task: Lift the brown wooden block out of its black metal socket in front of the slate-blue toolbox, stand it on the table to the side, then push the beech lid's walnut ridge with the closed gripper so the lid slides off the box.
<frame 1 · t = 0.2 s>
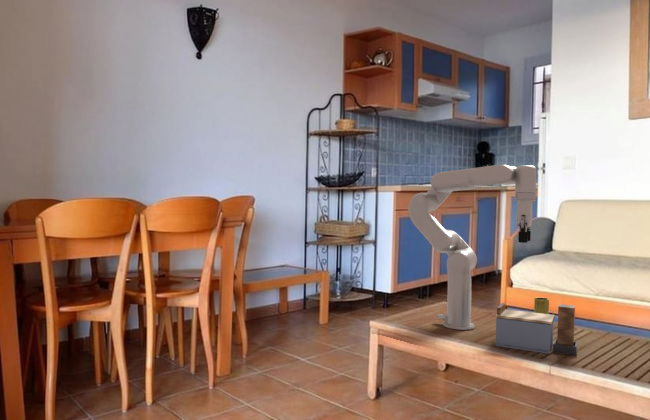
hand: (524, 241, 201), 37 cm above the table, tool pointing down, fingers open, 9 cm apart
toolbox: (524, 345, 188), on the table
lid: (525, 312, 188), point 12 cm above the table, slide at 0.0 cm
vase: (540, 335, 204), on the table
socket: (565, 351, 181), on the table
brown wooden block: (566, 328, 181), in the socket
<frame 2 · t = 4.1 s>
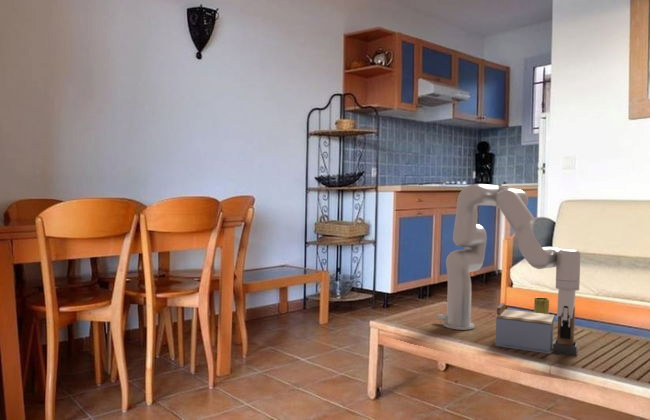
hand: (565, 336, 181), 5 cm above the table, tool pointing down, fingers closed on brown wooden block, 5 cm apart
brown wooden block: (566, 328, 181), in the socket, touching gripper
everything else where it was.
when the fingers open (7 cm above the table, at t = 12.2 s): brown wooden block drops 1 cm, on the table.
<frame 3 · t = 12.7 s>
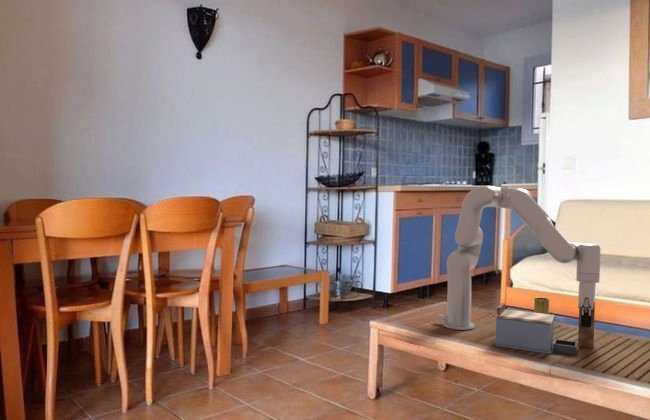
hand: (586, 323, 190), 8 cm above the table, tool pointing down, fingers open, 9 cm apart
brown wooden block: (586, 323, 190), on the table
everything else where it was.
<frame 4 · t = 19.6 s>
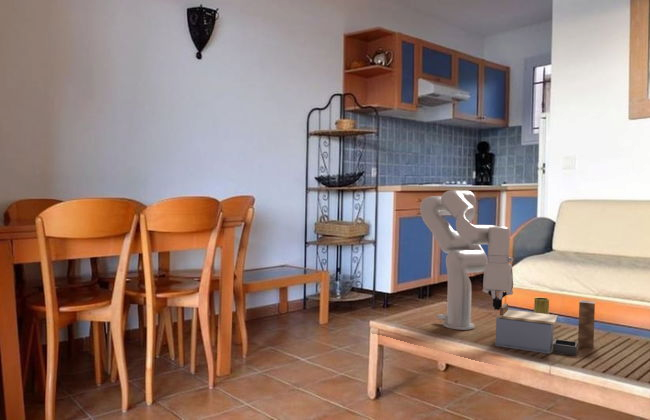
hand: (497, 309, 192), 12 cm above the table, tool pointing down, fingers closed
lid: (528, 313, 187), point 12 cm above the table, slide at 1.0 cm, touching gripper
everything else where it was.
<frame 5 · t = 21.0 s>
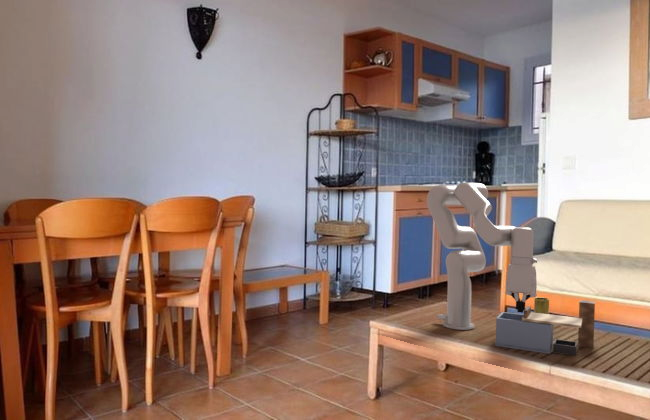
hand: (520, 311, 188), 12 cm above the table, tool pointing down, fingers closed
lid: (552, 315, 183), point 12 cm above the table, slide at 9.1 cm, touching gripper
everything else where it was.
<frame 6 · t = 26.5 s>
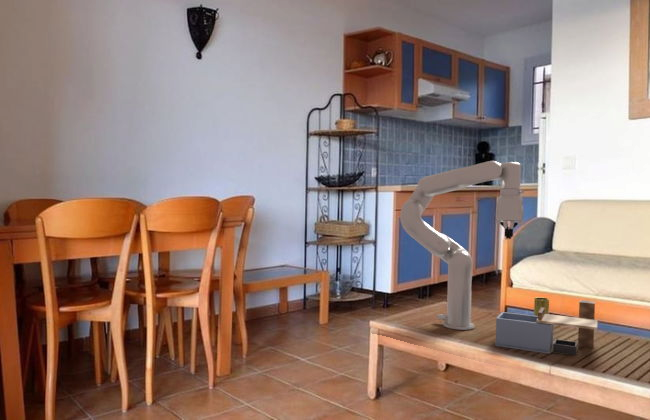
hand: (508, 238, 209), 37 cm above the table, tool pointing down, fingers closed
lid: (567, 317, 181), point 12 cm above the table, slide at 13.8 cm
everything else where it was.
at the end: lid slide at 13.8 cm; brown wooden block inside the target area (0.0 cm from its centre), on the table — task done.
